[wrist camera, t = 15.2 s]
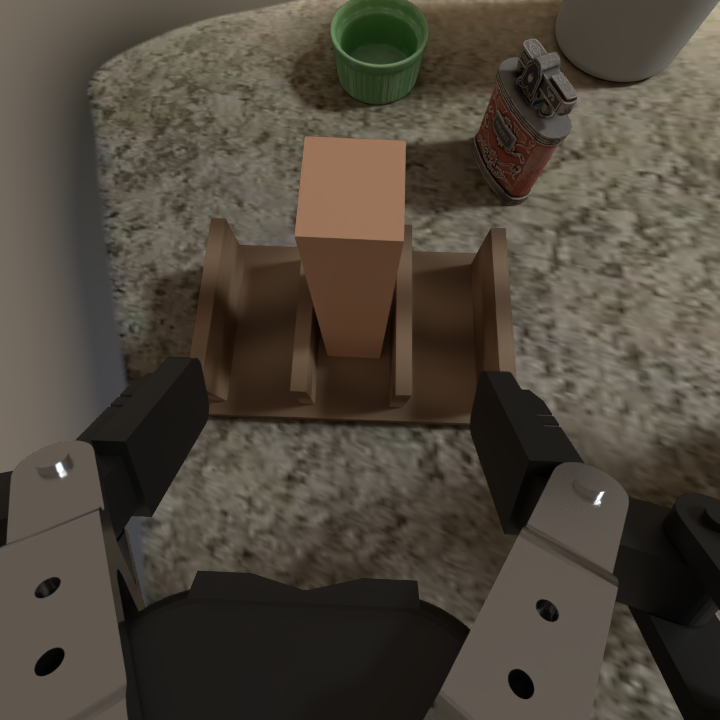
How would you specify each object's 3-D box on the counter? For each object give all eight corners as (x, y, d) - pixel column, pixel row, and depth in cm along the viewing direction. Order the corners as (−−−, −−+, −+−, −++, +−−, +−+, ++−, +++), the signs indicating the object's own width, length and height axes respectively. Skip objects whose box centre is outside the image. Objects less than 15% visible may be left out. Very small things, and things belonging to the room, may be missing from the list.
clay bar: (379, 358, 30) (403, 241, 14) (327, 355, 30) (294, 236, 14) (381, 303, 31) (405, 140, 15) (331, 301, 31) (305, 136, 15)
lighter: (463, 142, 37) (501, 28, 27) (495, 132, 37) (543, 15, 28) (503, 210, 35) (559, 113, 25) (536, 198, 35) (603, 97, 26)
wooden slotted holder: (494, 426, 30) (531, 416, 23) (209, 416, 30) (169, 403, 24) (485, 263, 33) (515, 216, 27) (231, 254, 34) (202, 205, 27)
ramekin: (321, 54, 40) (317, 5, 36) (403, 34, 41) (409, -17, 36) (348, 120, 38) (347, 76, 33) (434, 98, 38) (444, 52, 34)
